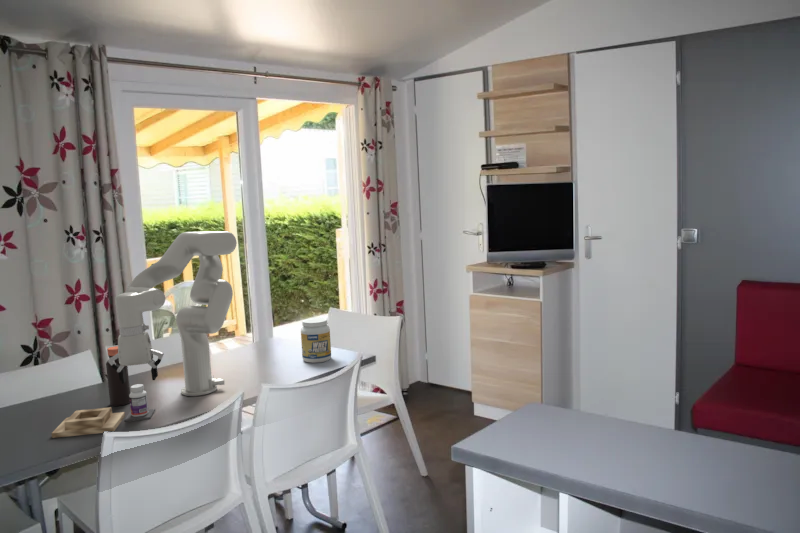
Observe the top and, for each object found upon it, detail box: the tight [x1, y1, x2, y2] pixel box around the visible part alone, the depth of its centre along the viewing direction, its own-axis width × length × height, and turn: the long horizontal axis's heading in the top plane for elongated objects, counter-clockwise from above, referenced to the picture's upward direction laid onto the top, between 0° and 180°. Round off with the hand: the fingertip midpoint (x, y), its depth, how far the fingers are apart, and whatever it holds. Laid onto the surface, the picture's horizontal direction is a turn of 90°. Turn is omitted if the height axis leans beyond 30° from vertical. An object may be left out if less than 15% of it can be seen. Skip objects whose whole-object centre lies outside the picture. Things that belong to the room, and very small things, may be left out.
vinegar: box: [105, 345, 131, 407], centre depth 232 cm, size 7×7×20 cm
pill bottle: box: [129, 383, 149, 417], centre depth 218 cm, size 5×5×10 cm
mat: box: [123, 408, 156, 422], centre depth 219 cm, size 8×8×1 cm
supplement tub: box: [300, 317, 332, 364], centre depth 278 cm, size 12×12×17 cm
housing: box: [51, 406, 126, 439], centre depth 211 cm, size 18×14×4 cm
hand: (139, 380), depth 218 cm, fingers open, 9 cm apart
